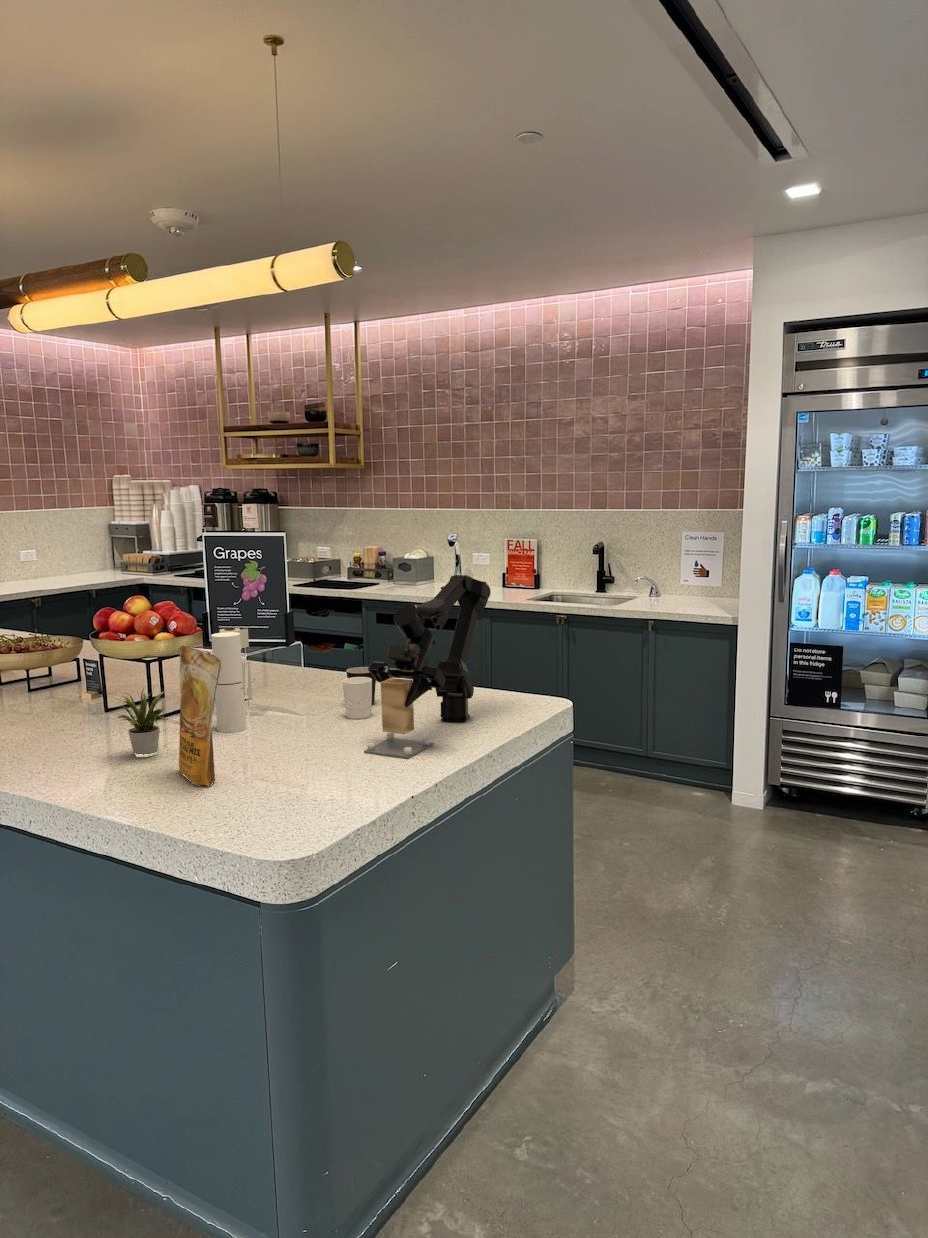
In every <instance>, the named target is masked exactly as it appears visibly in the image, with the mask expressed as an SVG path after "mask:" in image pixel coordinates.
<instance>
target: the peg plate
mask: <svg viewBox="0 0 928 1238" xmlns="http://www.w3.org/2000/svg"><path fill="white" fill-rule="evenodd" d="M434 744H435V743H434V742H431V738H430V737H429V736H428V737H427V736H424V737H422V739H421V740H413V739H405V738H397V737H395V733H389V732H386V739H385V740H383V741H381V742H379V743H377V744H376V742H374V741H369V742H367V744H366V745H367V747H366V748H367V749H365V750H364V751H363V753H364V754H368V753H370V754H369V755H375V754H376V756H377V755H378V756H383V755H384V756H383V757H392V758H396V759H397V758H399V759H406V760H409V759H410V758H411V759H412V758H413V757H414V756H416V755H418V754H419V753H422V752H424V751H426V750H427V749H429V748H431V747H432V745H433V746H434ZM430 746H431V747H430ZM423 750H424V751H423Z"/></svg>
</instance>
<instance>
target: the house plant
mask: <svg viewBox="0 0 928 1238" xmlns="http://www.w3.org/2000/svg"><path fill="white" fill-rule="evenodd" d="M144 690H145V687H143V688H142V691H141V692H140V693H141V694H140V707H139V708H137V706H136V703H135V701H134V699H133V697H132V696H131V694H129V693H127V692H125V694H126V695H125V694H122V696H121V697H122V698H123V699H124V701H122V700H120V699H119V698H117V697H114V696H112V698H113V699H117V700H119V702H120V703H122V704H123V705H120V707H121V708H122V709H123V708H124V709H125V711H127V713H128V714H129V716H130V717H129V716H127V715H126V714H119V715H118V716H117V718H116V719H120V720H119V721H128V722H129V723H130V727H131V728H129V729H128V731H127V732H128V736H129V740H130V744H131V749H132V752H133V754H134V753H136V754H143V755H144V754H151V753H155V752H157V751H159V740H160V739H159V738H160V727H159V726H157V725H154V724H155V723H156V724H158V719H161V720H163V721H164V722H166V718H165V716H163V715H161V714H162V713H163V712H164V710H165V708H161V709H160V708H158V709H156V710H154V709H155V706H157V703H159V701H160V700H161V697H162V695H163V694H164V693H165V692H166V691H167V690H163V691H161V692H160V693H158V695H156V696H155V698H154V699H153V701H152V702H151V703H150V701H149V702H148V700H147V699H148V697H149V696H150V695H151V694H152V693H153V691H152V692H150V693H149V694H148V695H147V694H146V693H145V692H144ZM127 695H128V696H129V697H128V696H127ZM146 695H147V696H146ZM129 698H130V699H129ZM163 698H167V696H164V697H162V699H163ZM148 703H150V705H149V707H148V710H147V706H148ZM126 704H127V705H128V706H129V707H130V708H131V709H132V710H131V709H130V708H129V707H128V706H127V705H126ZM124 705H125V706H124ZM153 710H154V711H153ZM132 711H133V712H132ZM121 718H122V719H121ZM132 726H133V727H132Z"/></svg>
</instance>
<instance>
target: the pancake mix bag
mask: <svg viewBox="0 0 928 1238" xmlns="http://www.w3.org/2000/svg"><path fill="white" fill-rule="evenodd" d="M177 650H178V653H179V671H180V673H179V675H180V677H179V678H180V679H179V680H180V682H179V685H180V687H179V688H180V700H179V703H180V705H179V708H180V709H179V711H180V712H179V747H178V748H179V749H178V750H179V751H178V752H179V754H178V769H179V771H180V772H181V773H182V774H184V775H185V776H186V777H187V778H188V779H189V780H191V781H192V782H193V783H194V784H196V785H206V786H205V787H207V786H208V788H209V786H210V785H211V784H212V783H214V781H215V782H216V776H215V761H214V759H215V758H214V743H213V732H212V731H213V730H212V722H213V714H214V709H215V701H216V699H215V693H216V687H217V682H218V678H219V673H220V669H221V661H220V660H219V659H218V658H217V657H216V656H214V655H213V653H212V654H211V653H207V652H205V651H202V650H200V649H197V648H193V647H190V646H185V645H181V646H179V647H178V649H177ZM181 773H180V774H181ZM189 780H188V781H189ZM194 784H193V785H194ZM214 784H215V783H214ZM211 786H212V785H211ZM211 786H210V787H211Z"/></svg>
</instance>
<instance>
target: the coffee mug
mask: <svg viewBox="0 0 928 1238" xmlns="http://www.w3.org/2000/svg"><path fill="white" fill-rule="evenodd" d="M368 668H369V666H359V667H350V668H347V669H346V671H345V672H346V677H347V678H352V677H368V678H371V679H372V706H374V705H375V699H376V698H375V697H376V687H377V686H376V685H377V684H376V683H377V681H376V680H375V679H374V677H373V676H372V675H371V673H370V672H369V671H368ZM347 678H346V679H347Z"/></svg>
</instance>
